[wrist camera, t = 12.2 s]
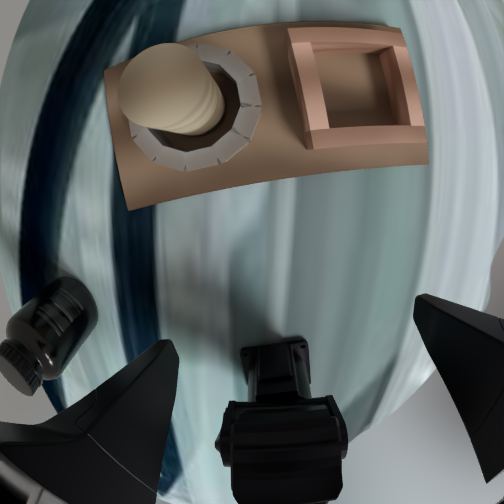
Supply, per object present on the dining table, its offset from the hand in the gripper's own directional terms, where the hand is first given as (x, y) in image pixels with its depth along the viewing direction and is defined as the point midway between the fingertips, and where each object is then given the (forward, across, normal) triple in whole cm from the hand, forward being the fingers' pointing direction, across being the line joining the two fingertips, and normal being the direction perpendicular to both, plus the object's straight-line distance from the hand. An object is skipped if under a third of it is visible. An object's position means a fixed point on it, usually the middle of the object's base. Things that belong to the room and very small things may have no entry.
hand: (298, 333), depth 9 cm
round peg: (+12, +4, -10) cm, 16 cm away
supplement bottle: (+13, +22, +4) cm, 26 cm away
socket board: (+13, -1, -10) cm, 16 cm away
